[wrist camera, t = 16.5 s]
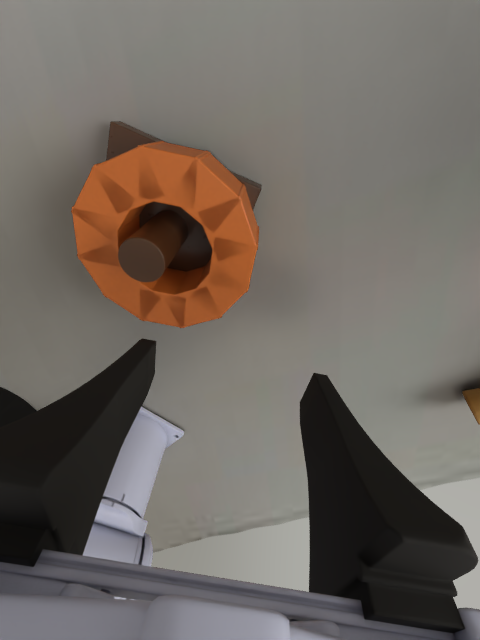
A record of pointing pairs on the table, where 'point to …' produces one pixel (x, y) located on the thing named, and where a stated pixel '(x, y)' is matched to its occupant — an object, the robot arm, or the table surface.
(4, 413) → the spring support
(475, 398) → the kendama
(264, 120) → the table surface
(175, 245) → the stand
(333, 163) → the table surface
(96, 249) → the ring
